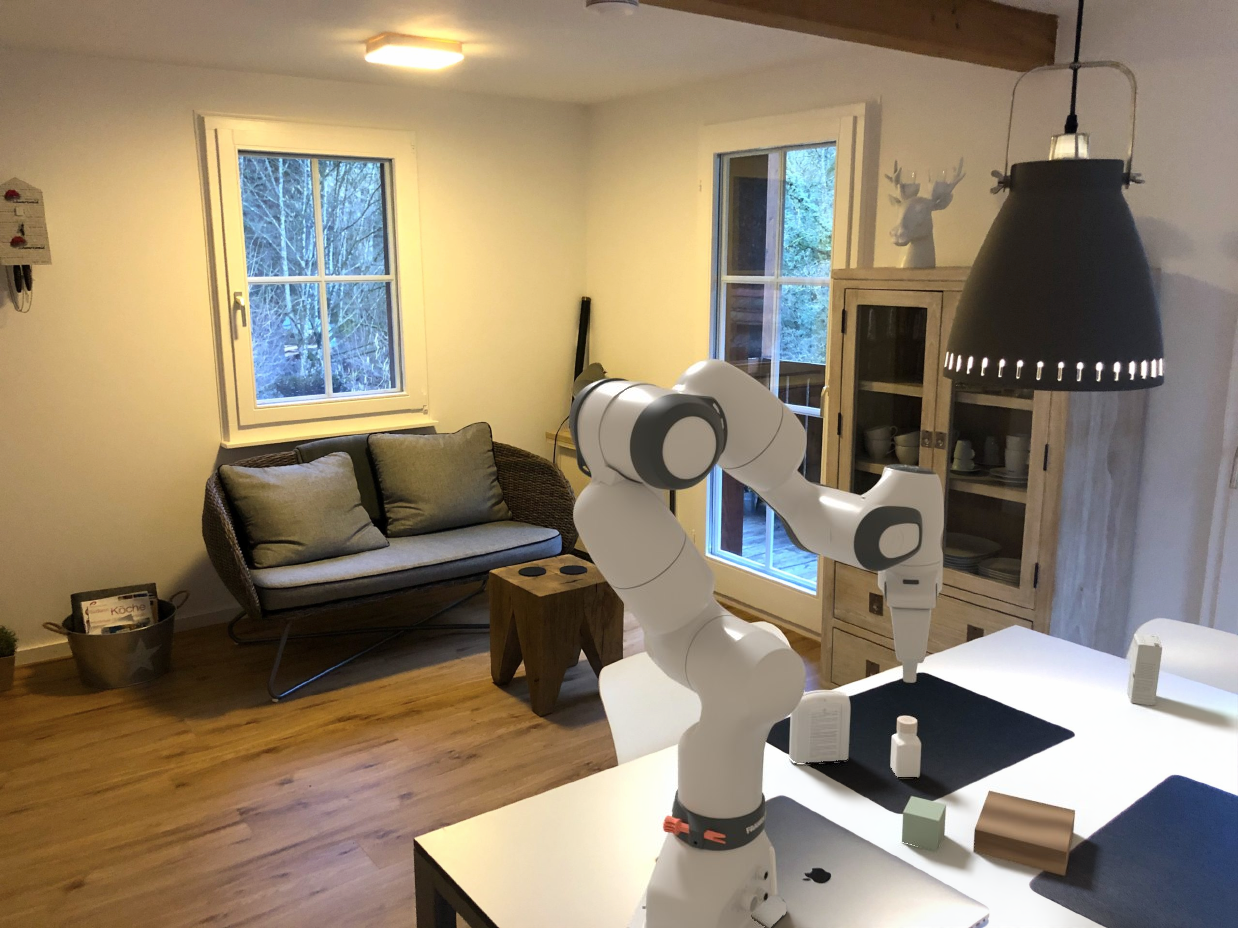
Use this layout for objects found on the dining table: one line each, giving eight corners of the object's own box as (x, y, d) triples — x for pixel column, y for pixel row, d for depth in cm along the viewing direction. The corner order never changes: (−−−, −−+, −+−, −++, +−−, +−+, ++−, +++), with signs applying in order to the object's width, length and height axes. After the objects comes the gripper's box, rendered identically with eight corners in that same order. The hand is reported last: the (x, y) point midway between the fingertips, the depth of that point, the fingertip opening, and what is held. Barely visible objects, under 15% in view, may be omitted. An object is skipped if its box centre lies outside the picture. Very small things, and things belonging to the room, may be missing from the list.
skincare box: (1126, 690, 193) (1131, 632, 191) (1152, 693, 192) (1157, 634, 189) (1130, 703, 188) (1136, 643, 185) (1157, 707, 186) (1163, 646, 184)
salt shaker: (912, 766, 165) (915, 713, 163) (920, 778, 161) (923, 724, 159) (889, 767, 165) (891, 714, 163) (896, 779, 161) (898, 725, 159)
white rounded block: (843, 750, 171) (845, 684, 168) (852, 762, 167) (854, 694, 164) (785, 755, 169) (787, 688, 167) (793, 767, 165) (794, 698, 163)
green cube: (937, 852, 141) (938, 820, 140) (901, 843, 143) (903, 811, 142) (944, 835, 145) (946, 804, 144) (910, 826, 148) (911, 795, 147)
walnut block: (1064, 878, 135) (1066, 851, 134) (973, 854, 141) (974, 828, 140) (1073, 834, 145) (1075, 810, 144) (987, 814, 151) (988, 790, 150)
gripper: (887, 552, 151) (886, 637, 154) (886, 599, 131) (886, 695, 134) (930, 553, 149) (929, 639, 152) (936, 601, 130) (934, 698, 133)
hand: (908, 666), depth 143 cm, fingers open, 8 cm apart
